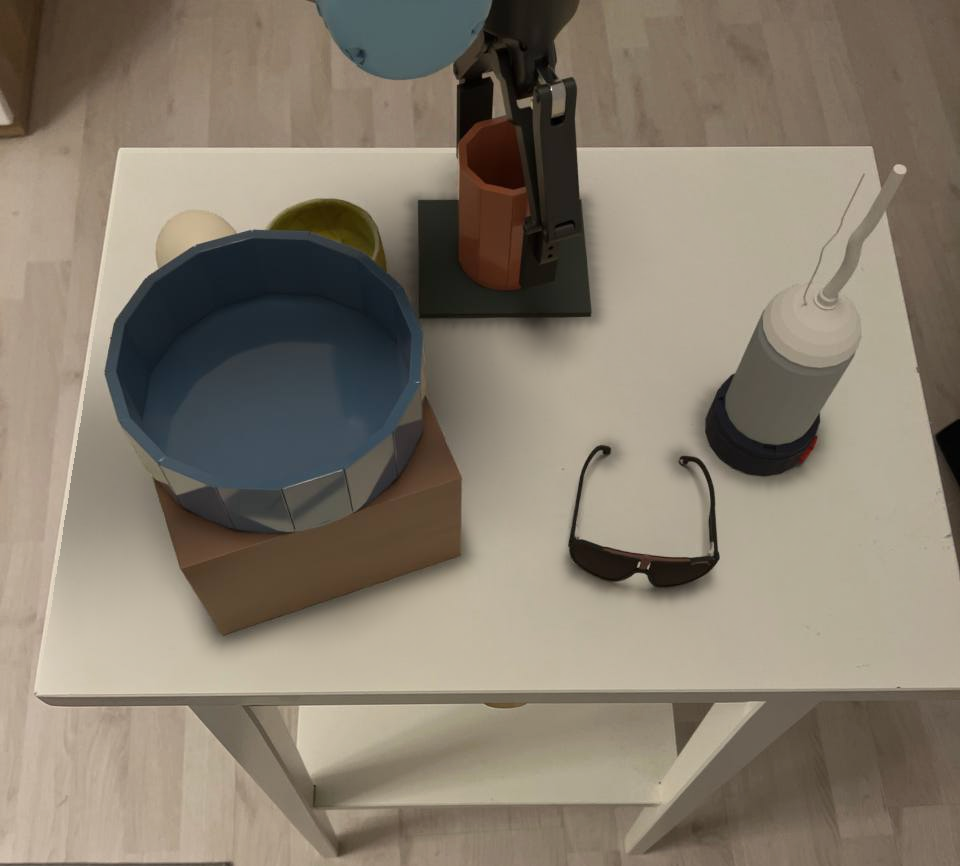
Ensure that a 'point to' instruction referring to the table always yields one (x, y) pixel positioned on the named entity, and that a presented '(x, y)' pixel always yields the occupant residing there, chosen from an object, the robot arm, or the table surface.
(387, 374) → the bowl
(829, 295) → the humidifier
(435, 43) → the robot arm
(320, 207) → the mug
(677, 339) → the table surface
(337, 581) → the riser
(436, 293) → the mat
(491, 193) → the cup
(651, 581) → the sunglasses
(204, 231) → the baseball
